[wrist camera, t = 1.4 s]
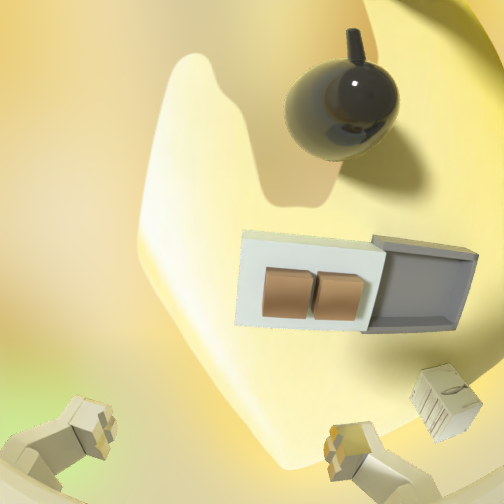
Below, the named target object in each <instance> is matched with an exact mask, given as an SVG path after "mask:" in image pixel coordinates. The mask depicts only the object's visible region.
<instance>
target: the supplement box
mask: <svg viewBox="0 0 504 504" xmlns="http://www.w3.org/2000/svg"><path fill="white" fill-rule="evenodd" d="M410 399H411V401H412V403H413V405H414V406H415V408H416V410H417V412H418V413H419V415H420V417H421V418H422V420H423V422H424V424H425V426H426V427H427V429H428V431H429V433H430V435H431V437H432V438H433V440H434V442H435V443H438V442H441V441H444V440H446V439H449V438H451V437H454V436H456V435H458V434H461V433H463V432H465V431H467V429H468V428H469V426H470V425H471V423H472V422H473V420H474V418H475V417H476V415H477V413H478V412H479V410H480V408H481V407H482V405H483V403H482V402H481V401H480V399H479V398H478V397H477V395H476V394H475V393H474V392H473V390H472V389H471V388H470V387H469V385H468V384H467V383H466V382H465V380H464V379H463V378H462V377H461V376H460V374H459V373H458V372H457V371H456V370H455V369H454V367H453V366H452V365H451V364H450V363H448V364H445V365H442V366H438V367H433V368H429V369H424V370H421V371H420V373H419V376H418V378H417V381H416V383H415V386H414V388H413V391H412V393H411V396H410Z"/></svg>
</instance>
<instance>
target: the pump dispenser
mask: <svg viewBox="0 0 504 504" xmlns="http://www.w3.org/2000/svg"><path fill="white" fill-rule="evenodd" d="M346 38H347V56H348V57H346V58H335V59H331V60H327V61H324V62H322V63H319V64H317V65H315V66H313V67H312V68H310V69H309V70H307V71H306V72H305V73H303V74H302V75H301V76H300V77H299V78H297V80H296V81H295V82H294V83H293V84H292V86H291V87H290V89H289V91H288V93H287V95H286V98H285V103H284V118H285V123H286V126H287V128H288V130H289V132H290V134H291V136H292V138H293V139H294V140H295V142H296V143H297V144H298V145H299V146H300V147H301V148H302V149H303V150H305V151H306V152H308V153H309V154H311V155H313V156H315V157H317V158H320V159H323V160H328V161H347V160H351V159H354V158H357V157H359V156H361V155H363V154H365V153H367V152H369V151H370V150H372V149H373V148H375V147H376V146H377V145H378V144H379V143H380V142H381V141H382V140H383V139H384V138H385V137H386V136H387V134H388V133H389V131H390V130H391V128H392V127H393V125H394V123H395V121H396V119H397V116H398V113H399V108H400V95H399V90H398V87H397V85H396V83H395V81H394V79H393V78H392V76H391V75H390V74H389V73H388V72H387V71H386V70H385V69H384V68H382V67H381V66H379V65H378V64H376V63H373V62H371V61H368V60H366V57H365V52H364V47H363V42H362V38H361V33H360V31H359V30H358V29H356V28H349V29H347V30H346Z"/></svg>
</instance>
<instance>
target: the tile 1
mask: <svg viewBox="0 0 504 504" xmlns="http://www.w3.org/2000/svg"><path fill="white" fill-rule="evenodd" d="M312 283H313V277H312V276H311V274H310V272H309V270H299V269H287V268H275V267H266V273H265V281H264V290H263V298H262V317H275V318H291V319H306V316H307V311H308V305H309V300H310V295H311V289H312Z"/></svg>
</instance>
